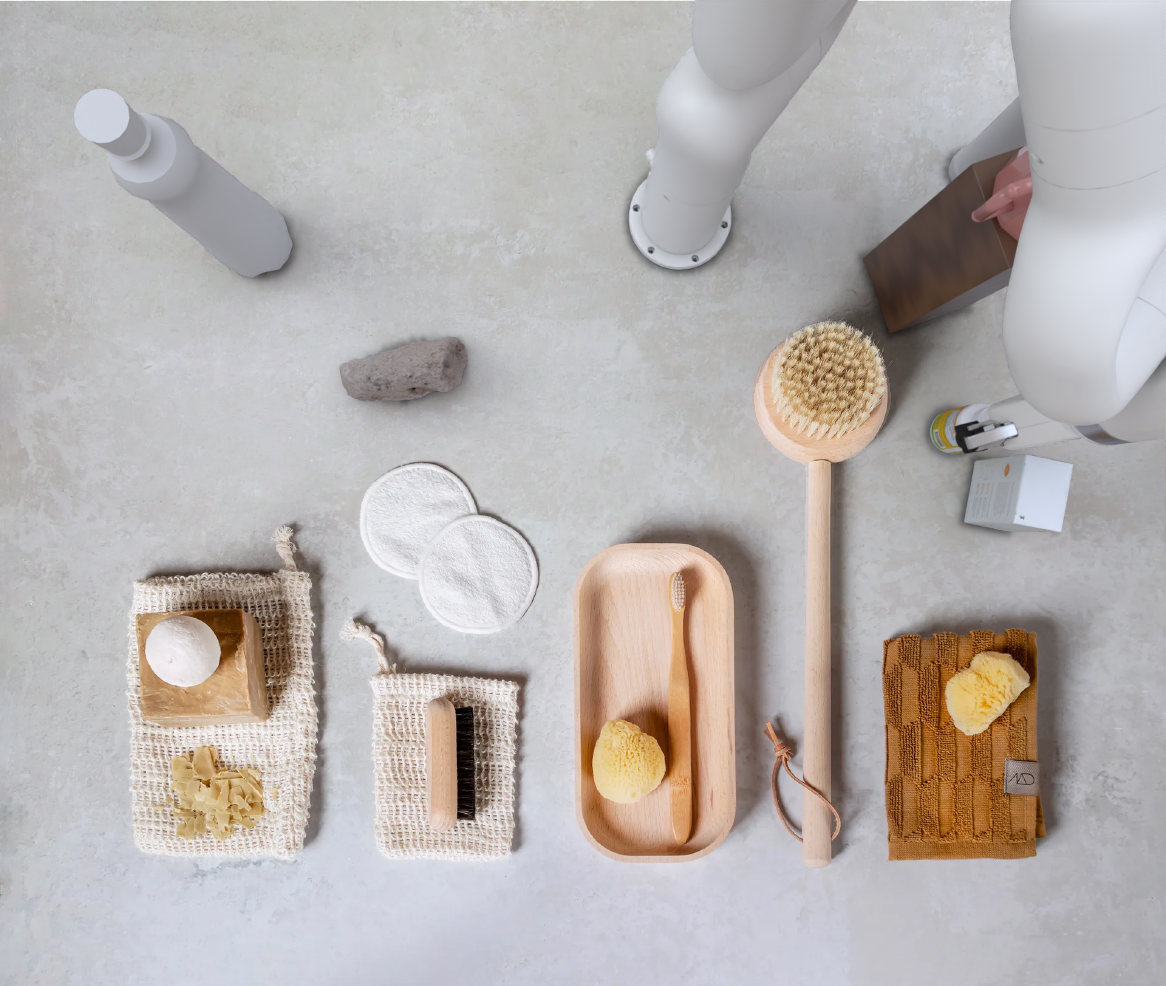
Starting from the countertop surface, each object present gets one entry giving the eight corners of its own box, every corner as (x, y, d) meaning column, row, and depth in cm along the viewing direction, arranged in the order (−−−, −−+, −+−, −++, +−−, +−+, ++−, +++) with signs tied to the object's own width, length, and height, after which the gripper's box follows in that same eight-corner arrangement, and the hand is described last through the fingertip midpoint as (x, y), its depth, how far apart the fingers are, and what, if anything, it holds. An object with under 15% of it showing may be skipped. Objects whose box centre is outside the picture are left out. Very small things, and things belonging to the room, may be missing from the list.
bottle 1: (284, 199, 90) (137, 46, 60) (307, 268, 90) (171, 150, 60) (214, 222, 90) (31, 80, 60) (237, 291, 90) (65, 185, 60)
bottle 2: (995, 164, 90) (1154, 35, 66) (973, 199, 90) (1124, 82, 65) (960, 142, 91) (1105, 4, 66) (938, 177, 90) (1075, 52, 65)
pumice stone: (466, 337, 90) (452, 316, 80) (471, 398, 90) (458, 385, 80) (344, 348, 90) (315, 329, 80) (349, 409, 90) (321, 397, 80)
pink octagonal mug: (943, 179, 65) (1001, 127, 56) (1072, 134, 65) (1151, 75, 56) (976, 273, 65) (1040, 236, 56) (1106, 228, 65) (1190, 184, 56)
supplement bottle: (978, 421, 90) (1027, 411, 80) (961, 461, 90) (1007, 455, 80) (939, 403, 90) (983, 391, 80) (921, 442, 90) (963, 435, 80)
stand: (862, 258, 90) (971, 163, 65) (938, 232, 90) (1075, 127, 65) (889, 333, 90) (1009, 268, 65) (965, 307, 90) (1113, 231, 65)
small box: (1005, 531, 90) (1062, 535, 79) (961, 522, 90) (1012, 524, 79) (1018, 468, 90) (1076, 463, 79) (973, 459, 90) (1026, 453, 79)
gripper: (1196, 326, 62) (1065, 366, 79) (1007, 392, 62) (916, 418, 79) (1227, 408, 62) (1089, 430, 79) (1037, 475, 62) (940, 483, 79)
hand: (1003, 424), depth 79 cm, fingers open, 9 cm apart
